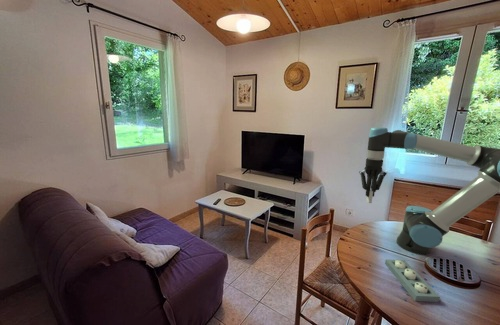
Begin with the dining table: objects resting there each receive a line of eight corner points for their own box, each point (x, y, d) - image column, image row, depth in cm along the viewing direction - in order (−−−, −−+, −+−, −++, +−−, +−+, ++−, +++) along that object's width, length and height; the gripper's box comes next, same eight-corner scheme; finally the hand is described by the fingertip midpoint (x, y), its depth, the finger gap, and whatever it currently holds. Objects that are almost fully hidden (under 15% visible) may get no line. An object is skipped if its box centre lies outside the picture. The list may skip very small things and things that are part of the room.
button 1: (401, 266, 107) (402, 260, 106) (406, 272, 103) (408, 266, 102) (392, 265, 107) (393, 259, 107) (397, 271, 103) (398, 265, 102)
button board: (403, 264, 109) (404, 260, 108) (438, 301, 88) (439, 296, 87) (384, 263, 109) (385, 259, 109) (415, 300, 88) (416, 295, 87)
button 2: (411, 274, 100) (412, 268, 99) (417, 281, 96) (418, 275, 95) (401, 274, 100) (402, 268, 99) (407, 281, 96) (408, 274, 95)
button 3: (421, 288, 93) (423, 281, 93) (429, 296, 89) (430, 289, 89) (411, 288, 94) (412, 281, 93) (418, 296, 90) (419, 289, 89)
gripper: (384, 157, 115) (377, 199, 120) (358, 156, 116) (353, 199, 121) (392, 160, 108) (385, 205, 113) (364, 159, 108) (359, 204, 114)
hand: (368, 202), depth 117 cm, fingers closed
